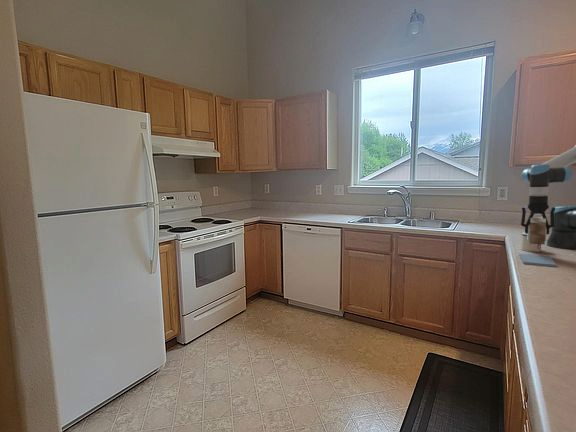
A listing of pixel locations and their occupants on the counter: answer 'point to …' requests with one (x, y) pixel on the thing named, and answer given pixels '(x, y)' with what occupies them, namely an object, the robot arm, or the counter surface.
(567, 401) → the counter surface
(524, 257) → the slate mat
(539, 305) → the counter surface
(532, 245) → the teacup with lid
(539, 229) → the beige canister
